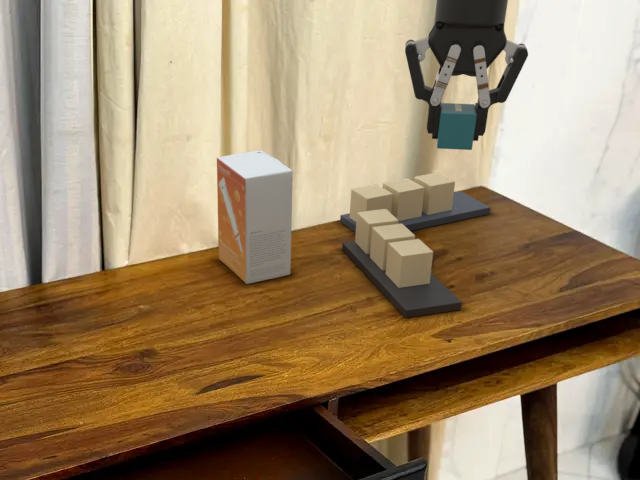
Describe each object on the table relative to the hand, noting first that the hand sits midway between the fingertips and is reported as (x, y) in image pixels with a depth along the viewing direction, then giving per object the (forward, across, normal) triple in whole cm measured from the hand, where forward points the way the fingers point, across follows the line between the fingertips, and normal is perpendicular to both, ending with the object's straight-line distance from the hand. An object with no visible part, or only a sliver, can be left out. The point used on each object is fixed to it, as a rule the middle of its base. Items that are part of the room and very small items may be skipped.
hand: (454, 137), depth 115 cm
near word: (+15, -5, -6) cm, 17 cm away
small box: (+16, -23, -5) cm, 28 cm away
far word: (+15, -3, +14) cm, 21 cm away
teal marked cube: (+1, 0, 0) cm, 1 cm away
